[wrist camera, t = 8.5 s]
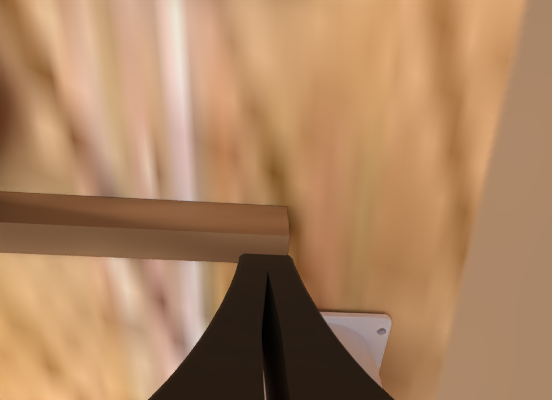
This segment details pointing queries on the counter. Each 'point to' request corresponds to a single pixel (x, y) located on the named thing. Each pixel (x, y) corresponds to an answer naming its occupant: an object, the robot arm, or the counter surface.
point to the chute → (139, 228)
